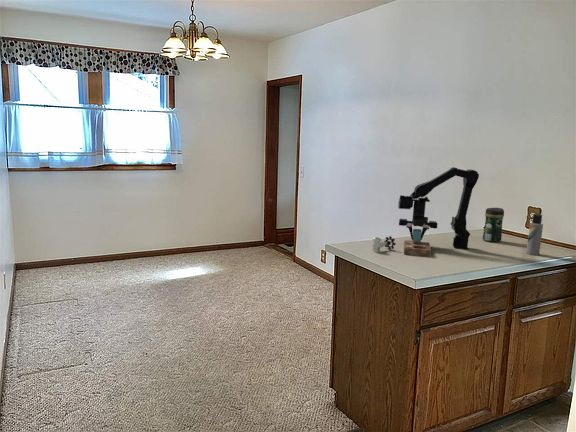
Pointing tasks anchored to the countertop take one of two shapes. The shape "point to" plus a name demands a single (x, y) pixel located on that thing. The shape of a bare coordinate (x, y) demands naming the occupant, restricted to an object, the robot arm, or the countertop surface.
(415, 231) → the plug
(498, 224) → the coffee jar
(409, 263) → the countertop surface
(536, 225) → the lotion bottle
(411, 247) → the socket plate
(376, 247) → the valve
